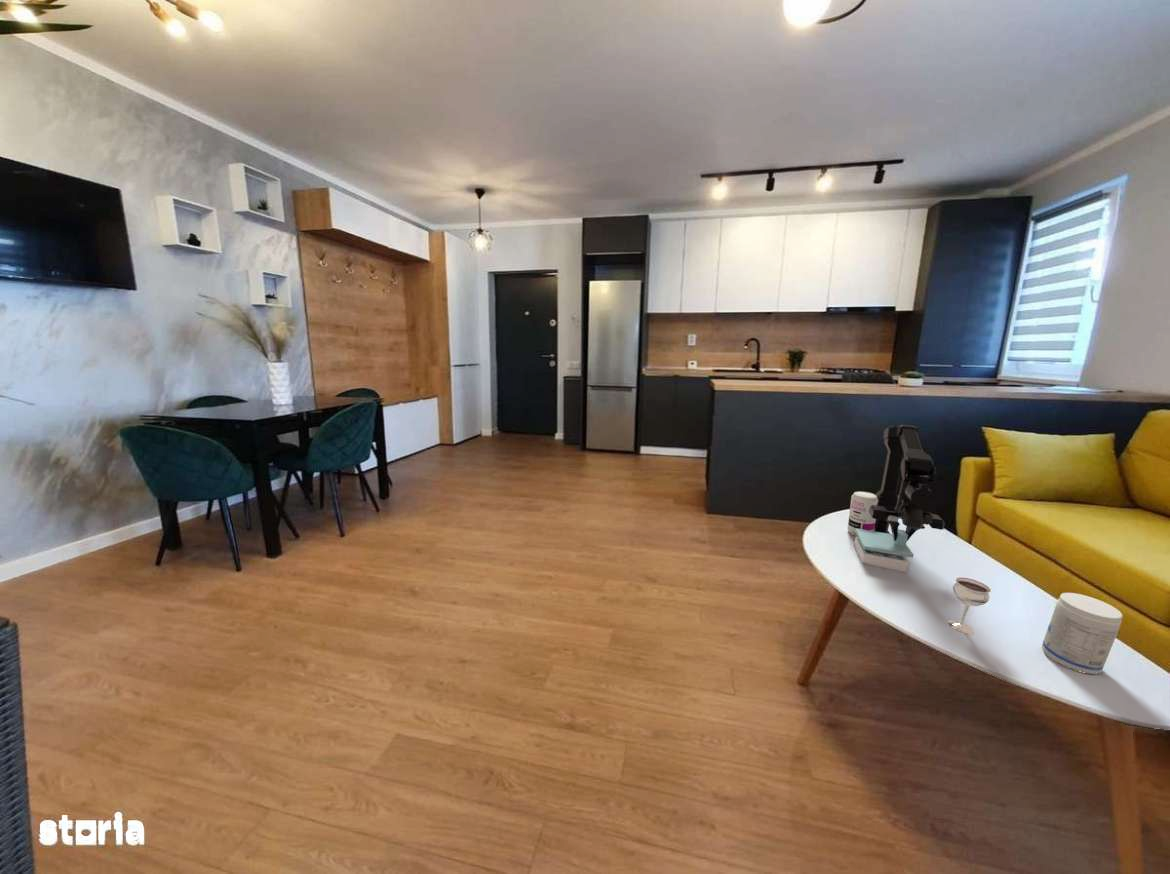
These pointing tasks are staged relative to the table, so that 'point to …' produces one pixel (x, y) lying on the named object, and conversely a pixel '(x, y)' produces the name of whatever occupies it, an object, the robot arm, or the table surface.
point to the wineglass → (969, 599)
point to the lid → (884, 542)
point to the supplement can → (861, 512)
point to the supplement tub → (1081, 632)
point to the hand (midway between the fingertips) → (899, 541)
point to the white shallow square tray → (880, 558)
